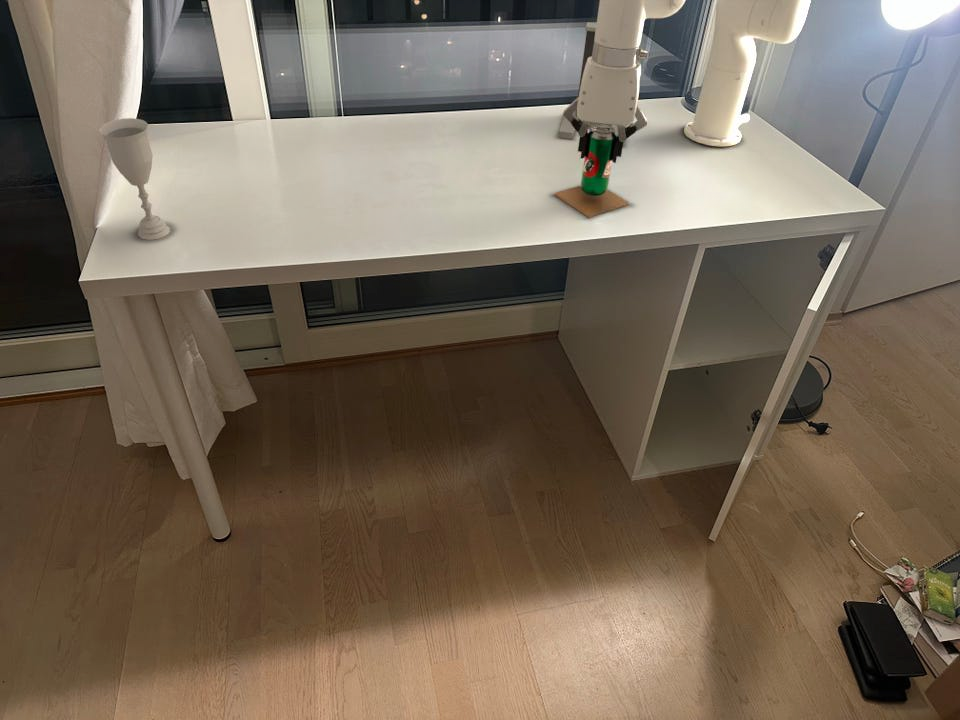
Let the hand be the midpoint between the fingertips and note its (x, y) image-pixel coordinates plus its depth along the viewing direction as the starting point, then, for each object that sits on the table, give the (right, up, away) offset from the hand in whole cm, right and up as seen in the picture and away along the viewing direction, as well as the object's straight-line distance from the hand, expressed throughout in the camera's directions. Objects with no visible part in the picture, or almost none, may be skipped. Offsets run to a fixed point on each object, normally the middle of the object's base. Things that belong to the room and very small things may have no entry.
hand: (598, 156), depth 128 cm
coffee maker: (+4, +15, +32) cm, 35 cm away
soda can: (0, -5, +5) cm, 7 cm away
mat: (0, -7, +6) cm, 9 cm away
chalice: (-77, -16, -10) cm, 79 cm away
